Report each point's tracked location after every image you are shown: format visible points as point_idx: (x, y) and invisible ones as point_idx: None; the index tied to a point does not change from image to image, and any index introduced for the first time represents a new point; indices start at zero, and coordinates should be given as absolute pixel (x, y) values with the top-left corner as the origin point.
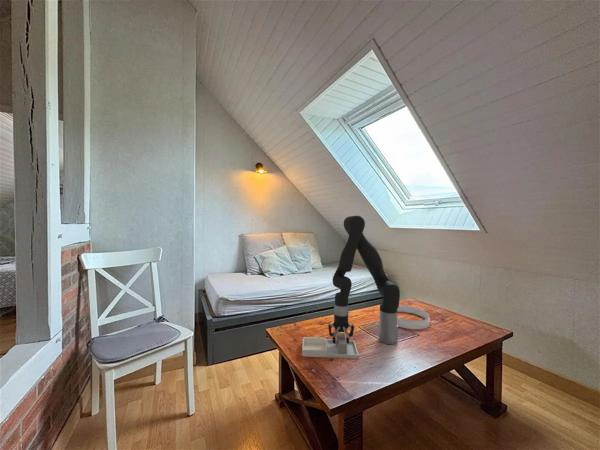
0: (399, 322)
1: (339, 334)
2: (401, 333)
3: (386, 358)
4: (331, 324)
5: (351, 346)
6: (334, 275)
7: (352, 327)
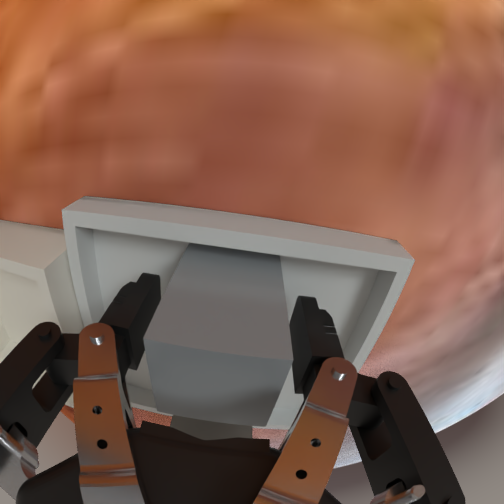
0: None
1: (189, 384)
2: None
3: (451, 385)
4: (11, 491)
5: (339, 307)
6: None
7: None
